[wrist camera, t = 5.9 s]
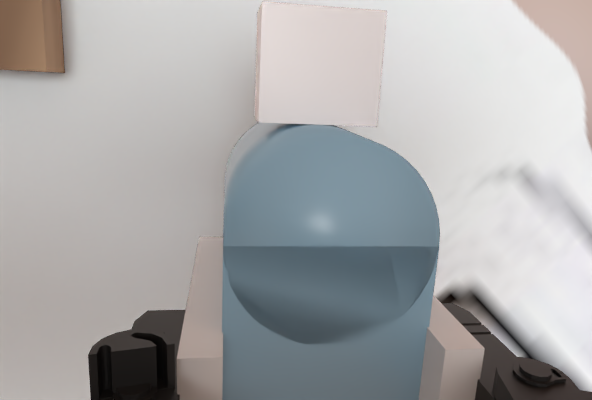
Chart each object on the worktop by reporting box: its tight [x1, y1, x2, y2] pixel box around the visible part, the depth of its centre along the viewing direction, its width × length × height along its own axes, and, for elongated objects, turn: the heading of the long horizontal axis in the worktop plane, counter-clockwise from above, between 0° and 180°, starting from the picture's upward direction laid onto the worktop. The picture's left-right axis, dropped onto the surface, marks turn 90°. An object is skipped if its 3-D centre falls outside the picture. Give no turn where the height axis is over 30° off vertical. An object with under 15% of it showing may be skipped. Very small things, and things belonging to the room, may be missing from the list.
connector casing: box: [222, 2, 440, 400], centre depth 12 cm, size 4×12×6 cm, turn 177°
